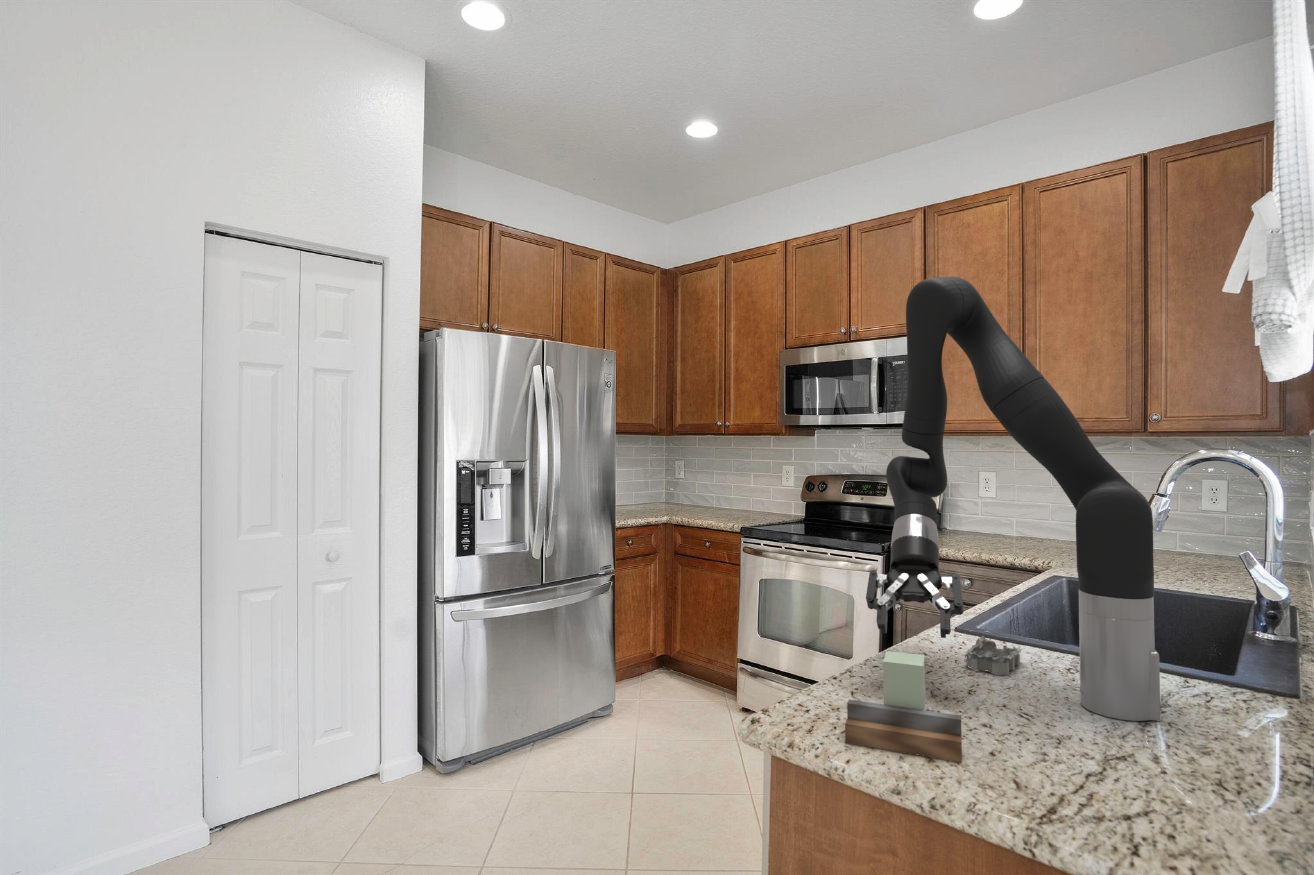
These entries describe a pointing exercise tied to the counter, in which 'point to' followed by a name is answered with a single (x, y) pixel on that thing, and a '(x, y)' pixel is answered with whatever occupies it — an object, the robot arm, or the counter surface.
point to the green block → (904, 680)
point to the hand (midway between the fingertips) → (912, 632)
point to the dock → (904, 730)
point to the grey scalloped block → (992, 657)
